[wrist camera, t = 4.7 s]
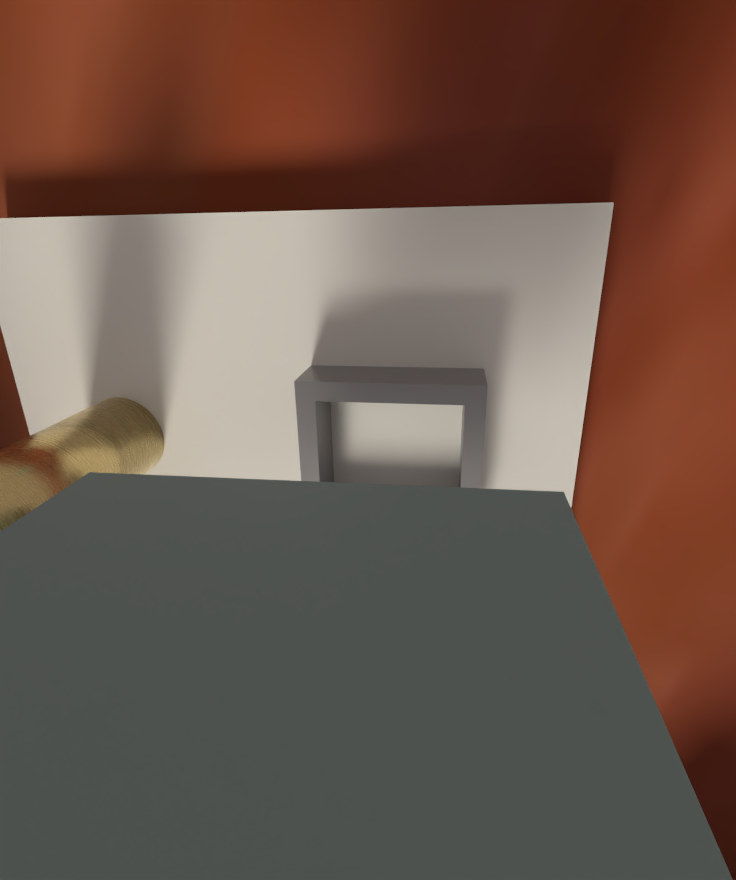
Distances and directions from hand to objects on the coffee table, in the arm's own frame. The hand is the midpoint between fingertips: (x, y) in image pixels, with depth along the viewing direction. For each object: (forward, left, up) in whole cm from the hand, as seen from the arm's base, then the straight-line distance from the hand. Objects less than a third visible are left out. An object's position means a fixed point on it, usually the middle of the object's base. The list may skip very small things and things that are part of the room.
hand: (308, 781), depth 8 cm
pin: (-10, +1, -11) cm, 15 cm away
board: (-4, +1, -13) cm, 13 cm away
